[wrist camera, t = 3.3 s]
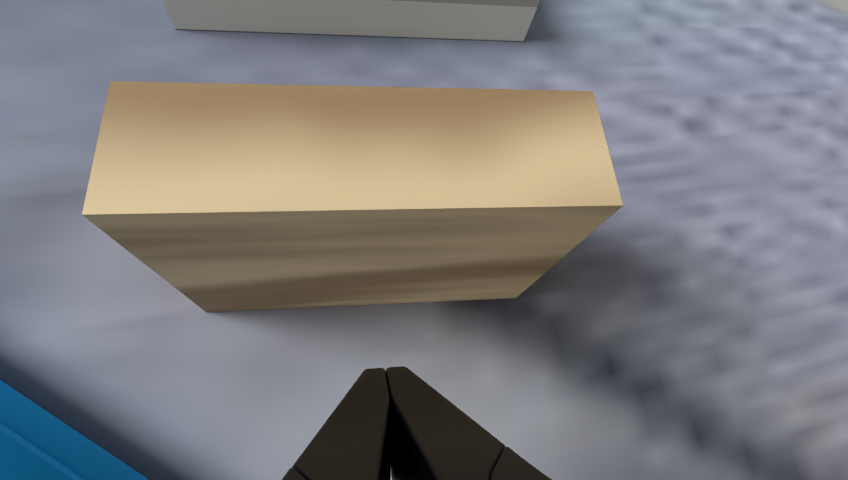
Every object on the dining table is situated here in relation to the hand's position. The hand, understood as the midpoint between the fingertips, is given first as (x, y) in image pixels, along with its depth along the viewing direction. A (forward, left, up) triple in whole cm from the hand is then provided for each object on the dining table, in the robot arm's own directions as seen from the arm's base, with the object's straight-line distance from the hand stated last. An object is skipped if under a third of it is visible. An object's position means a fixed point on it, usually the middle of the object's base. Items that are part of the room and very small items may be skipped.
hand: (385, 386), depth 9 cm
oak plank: (+5, -4, -11) cm, 13 cm away
